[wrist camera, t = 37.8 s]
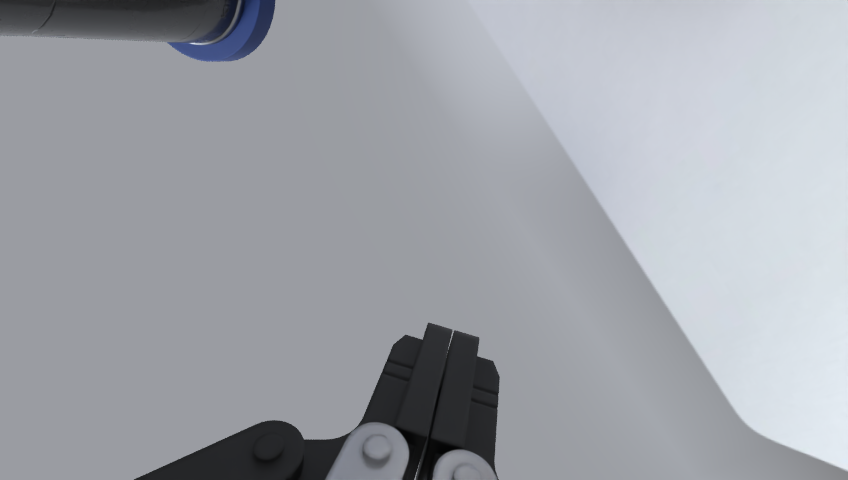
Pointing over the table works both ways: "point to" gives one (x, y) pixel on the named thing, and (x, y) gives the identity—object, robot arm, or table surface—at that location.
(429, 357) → the robot arm
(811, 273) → the table surface
